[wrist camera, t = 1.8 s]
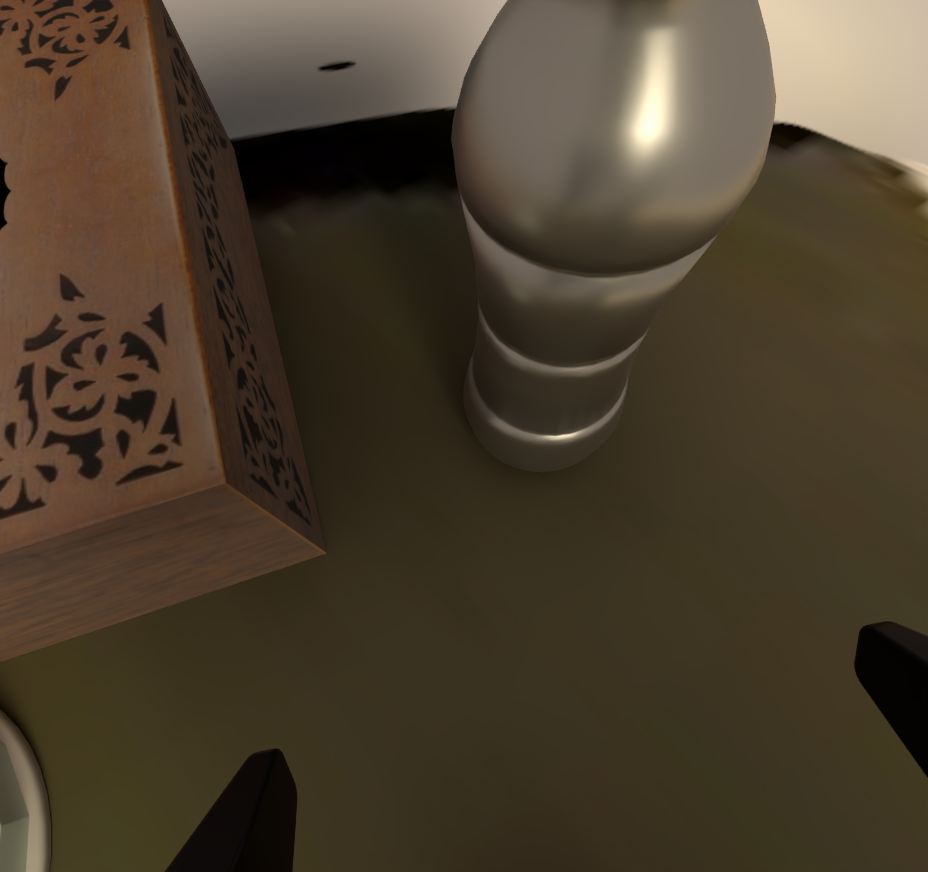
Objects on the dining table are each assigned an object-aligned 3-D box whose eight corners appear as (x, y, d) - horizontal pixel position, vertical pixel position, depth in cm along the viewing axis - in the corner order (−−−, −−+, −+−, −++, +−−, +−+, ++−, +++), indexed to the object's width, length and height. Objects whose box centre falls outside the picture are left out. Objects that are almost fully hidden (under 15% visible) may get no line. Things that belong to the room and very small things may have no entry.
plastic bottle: (450, 376, 26) (371, -325, 8) (584, 346, 26) (822, -391, 8) (483, 501, 23) (486, -87, 5) (631, 465, 24) (1134, -198, 5)
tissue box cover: (-8, 215, 31) (-210, 30, 22) (236, 153, 33) (139, -46, 24) (-18, 670, 22) (-386, 675, 13) (328, 554, 23) (226, 483, 14)
